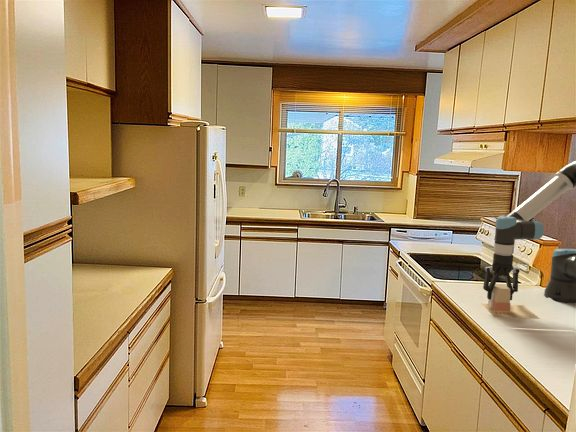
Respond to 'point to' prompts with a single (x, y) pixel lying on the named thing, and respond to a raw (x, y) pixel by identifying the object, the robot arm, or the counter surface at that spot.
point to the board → (513, 312)
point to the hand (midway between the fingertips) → (498, 307)
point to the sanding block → (501, 298)
